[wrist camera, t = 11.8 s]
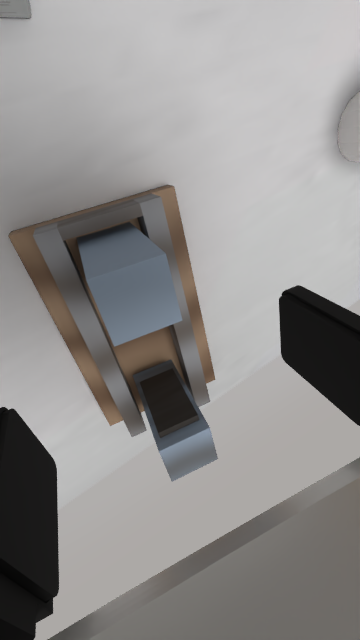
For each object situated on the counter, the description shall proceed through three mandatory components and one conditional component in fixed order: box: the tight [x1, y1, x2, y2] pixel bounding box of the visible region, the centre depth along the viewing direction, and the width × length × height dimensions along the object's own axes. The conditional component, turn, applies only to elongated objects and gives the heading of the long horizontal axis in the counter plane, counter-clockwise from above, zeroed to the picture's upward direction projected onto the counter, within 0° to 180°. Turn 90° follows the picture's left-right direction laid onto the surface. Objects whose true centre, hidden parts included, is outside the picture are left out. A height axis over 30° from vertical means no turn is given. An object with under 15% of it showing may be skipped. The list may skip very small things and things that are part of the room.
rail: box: [9, 185, 218, 481], centre depth 23 cm, size 20×12×10 cm, turn 13°
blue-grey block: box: [77, 222, 182, 347], centre depth 19 cm, size 5×4×9 cm
